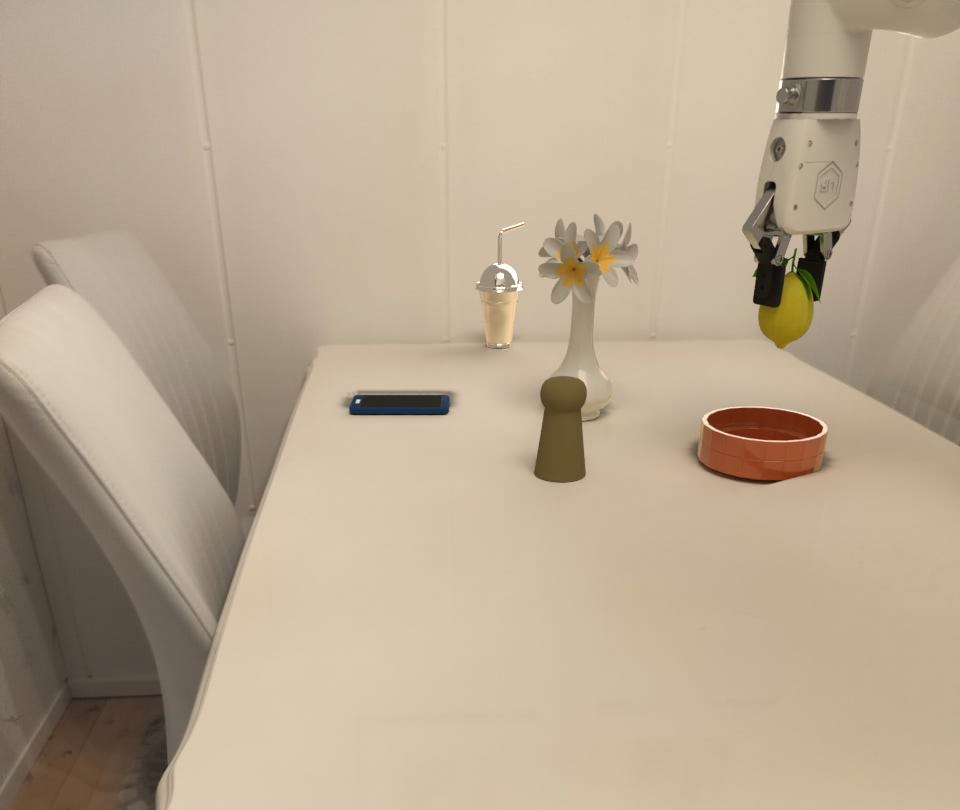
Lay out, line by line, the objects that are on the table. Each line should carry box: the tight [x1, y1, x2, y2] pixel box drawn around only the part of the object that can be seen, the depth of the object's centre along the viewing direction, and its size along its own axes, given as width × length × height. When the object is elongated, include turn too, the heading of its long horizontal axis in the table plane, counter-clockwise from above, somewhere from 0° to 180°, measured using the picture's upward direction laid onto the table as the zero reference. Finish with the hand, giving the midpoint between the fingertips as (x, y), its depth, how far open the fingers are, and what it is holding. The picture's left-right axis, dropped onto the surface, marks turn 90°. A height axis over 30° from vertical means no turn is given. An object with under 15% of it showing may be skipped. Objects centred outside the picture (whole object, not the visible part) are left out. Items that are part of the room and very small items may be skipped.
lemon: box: [752, 247, 822, 350], centre depth 96 cm, size 7×6×10 cm
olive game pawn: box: [533, 376, 587, 483], centre depth 104 cm, size 6×6×11 cm
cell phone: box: [348, 394, 451, 415], centre depth 130 cm, size 7×14×1 cm, turn 90°
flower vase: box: [538, 213, 639, 422], centre depth 120 cm, size 13×18×25 cm
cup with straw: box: [474, 222, 526, 349], centre depth 160 cm, size 8×9×20 cm
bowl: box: [696, 405, 829, 482], centre depth 108 cm, size 14×14×5 cm
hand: (786, 300), depth 96 cm, fingers closed on lemon, 5 cm apart
